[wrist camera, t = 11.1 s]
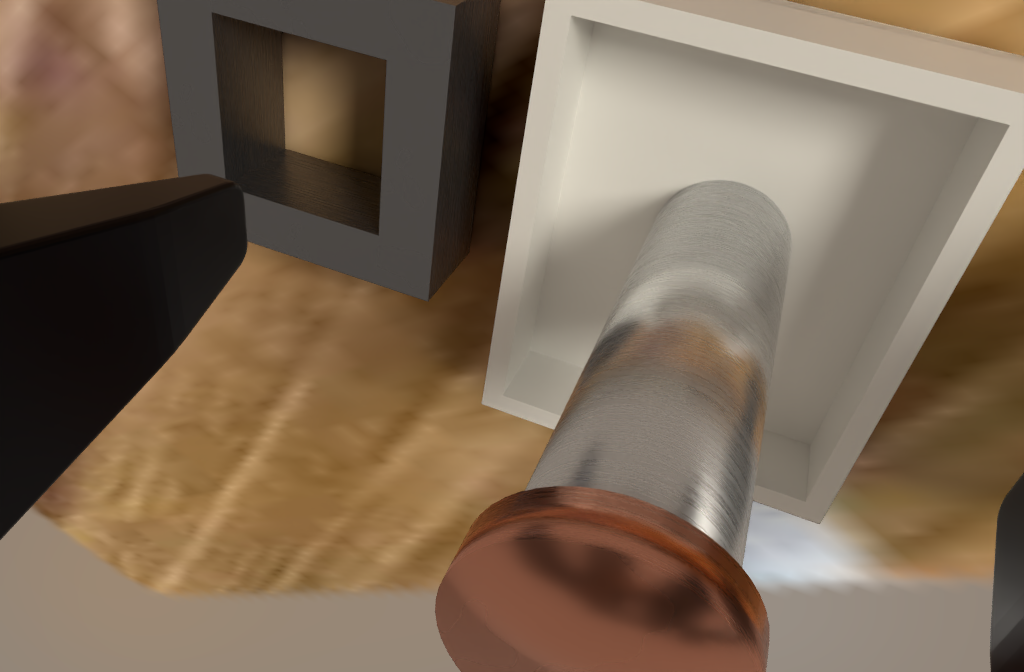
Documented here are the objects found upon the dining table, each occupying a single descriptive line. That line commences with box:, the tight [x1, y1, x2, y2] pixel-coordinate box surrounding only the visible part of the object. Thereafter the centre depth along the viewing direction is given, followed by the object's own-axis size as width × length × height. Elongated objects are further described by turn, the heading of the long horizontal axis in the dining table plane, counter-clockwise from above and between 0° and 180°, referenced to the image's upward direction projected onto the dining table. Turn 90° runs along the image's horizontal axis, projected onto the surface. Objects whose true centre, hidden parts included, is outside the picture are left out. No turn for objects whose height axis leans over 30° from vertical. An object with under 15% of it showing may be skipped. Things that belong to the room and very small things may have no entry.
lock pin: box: [435, 180, 792, 672], centre depth 16 cm, size 5×5×13 cm
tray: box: [482, 0, 1024, 524], centre depth 21 cm, size 10×12×3 cm
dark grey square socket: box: [157, 0, 501, 301], centre depth 22 cm, size 8×8×3 cm
